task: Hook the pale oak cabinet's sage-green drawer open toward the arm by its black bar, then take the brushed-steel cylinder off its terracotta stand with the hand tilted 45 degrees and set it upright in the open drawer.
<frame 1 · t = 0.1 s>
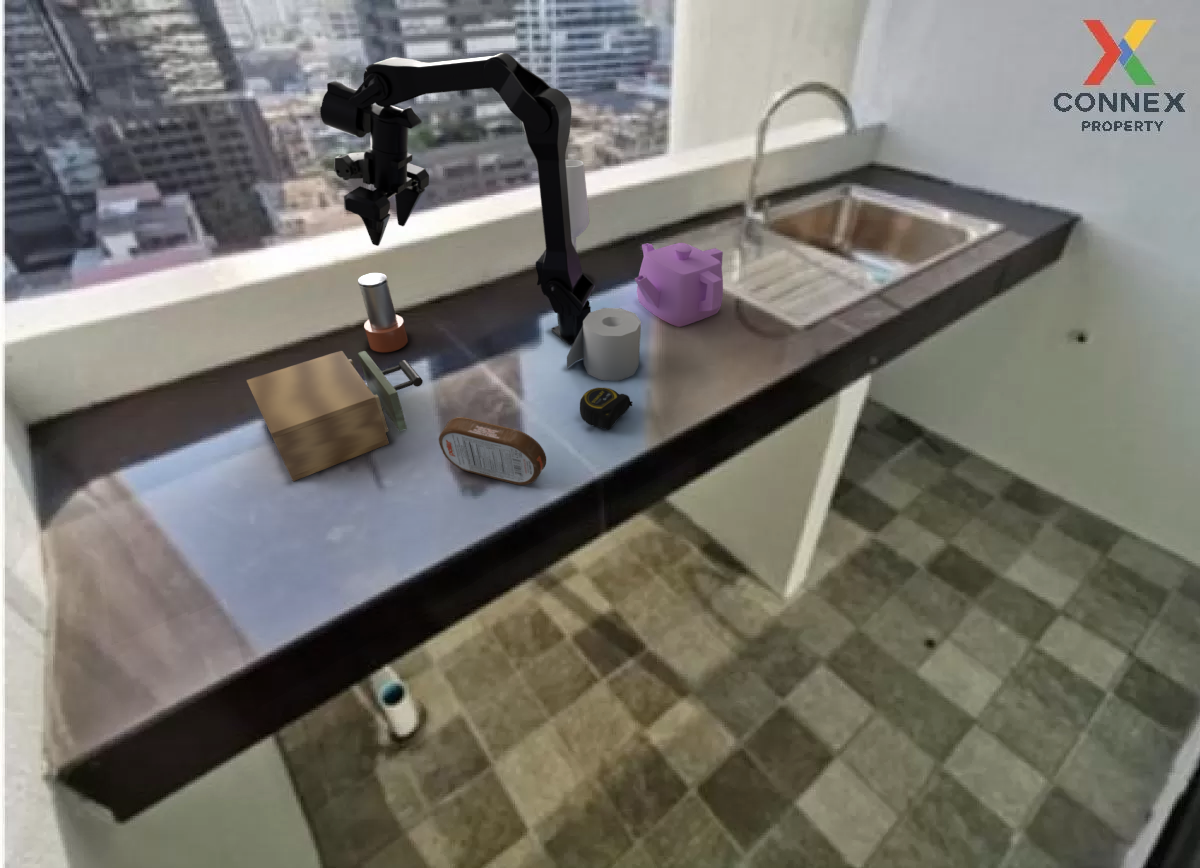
hand: (388, 234, 109), 15 cm above the worktop, tool pointing down, fingers open, 9 cm apart
cabinet: (327, 435, 90), on the worktop
tin: (494, 475, 84), on the worktop
cylinder: (383, 323, 108), point 4 cm above the worktop, touching stand
toilet tissue: (603, 367, 104), on the worktop
tape measure: (606, 419, 93), on the worktop
teakettle: (674, 307, 121), on the worktop
champagne flute: (574, 282, 129), on the worktop
stand: (388, 342, 110), on the worktop
drawer: (361, 397, 90), point 4 cm above the worktop, slide at 2.0 cm
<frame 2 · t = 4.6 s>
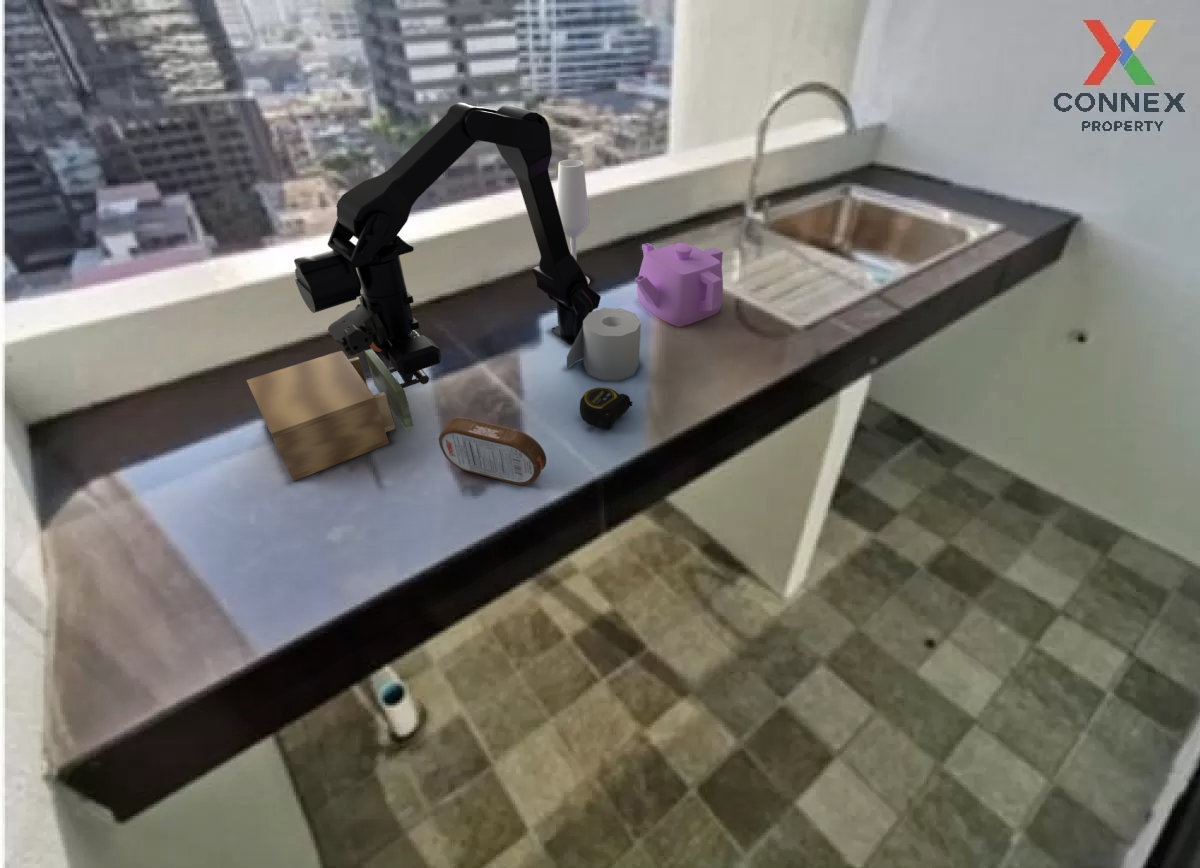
hand: (407, 380, 93), 4 cm above the worktop, tool pointing down, fingers closed, pressing on drawer
drawer: (368, 395, 91), point 4 cm above the worktop, slide at 3.0 cm, touching gripper
everything else where it was.
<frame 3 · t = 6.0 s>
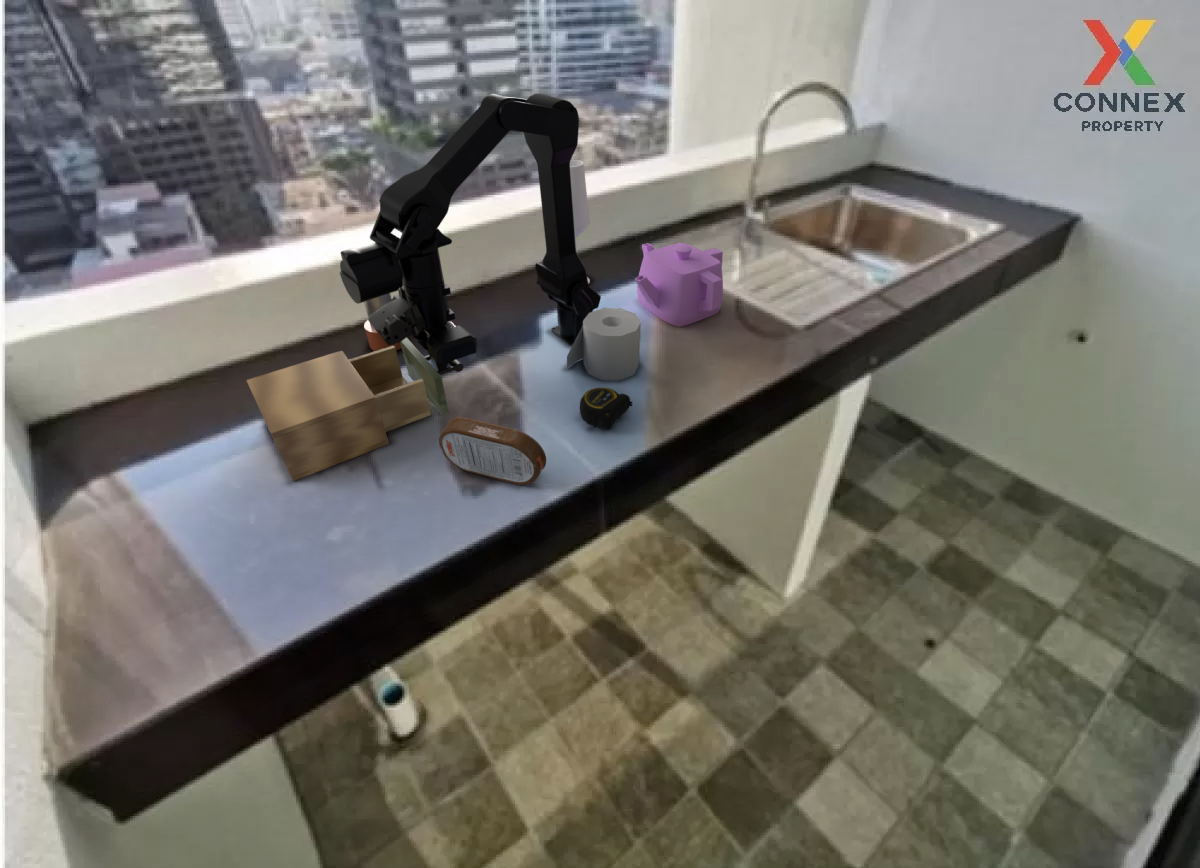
hand: (441, 370, 96), 4 cm above the worktop, tool pointing down, fingers closed
drawer: (404, 382, 93), point 4 cm above the worktop, slide at 8.7 cm
everything else where it was.
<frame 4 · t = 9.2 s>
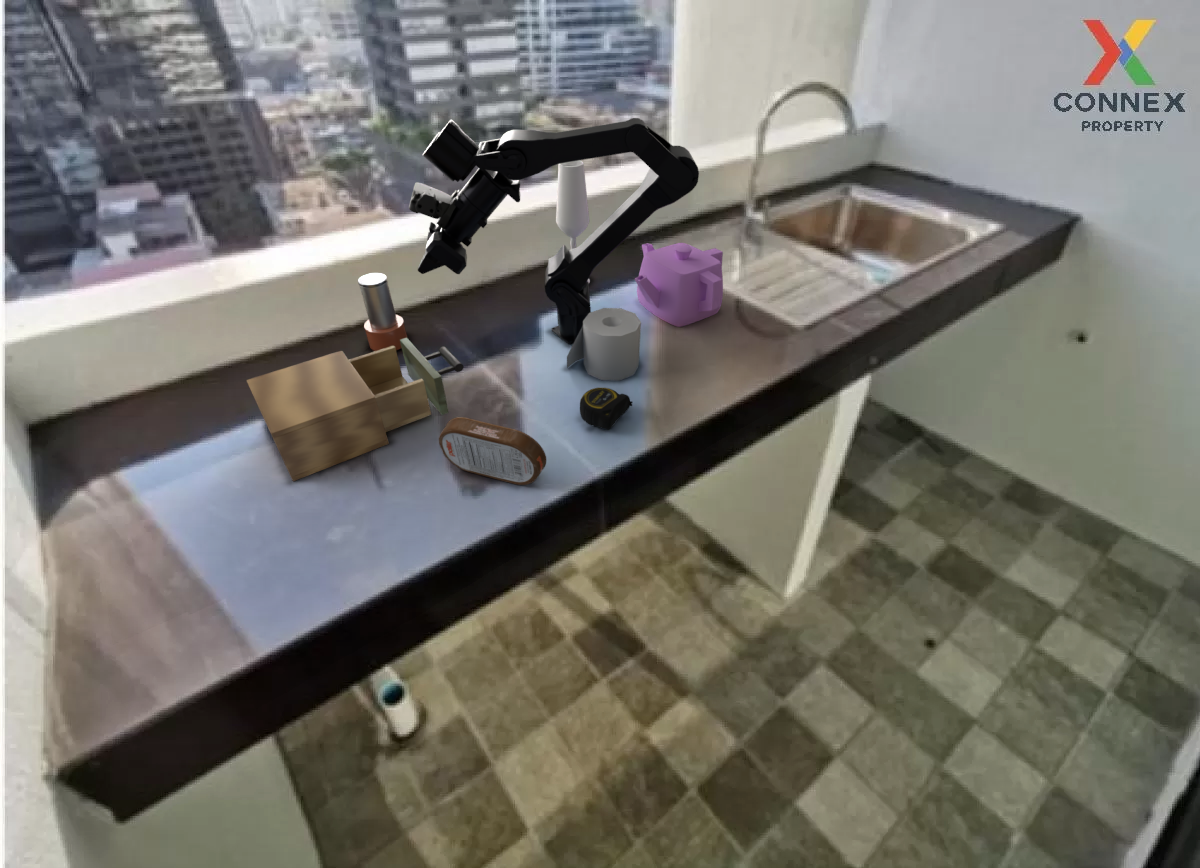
hand: (420, 271, 102), 13 cm above the worktop, tool tilted 45°, fingers closed
nothing on the worktop moved.
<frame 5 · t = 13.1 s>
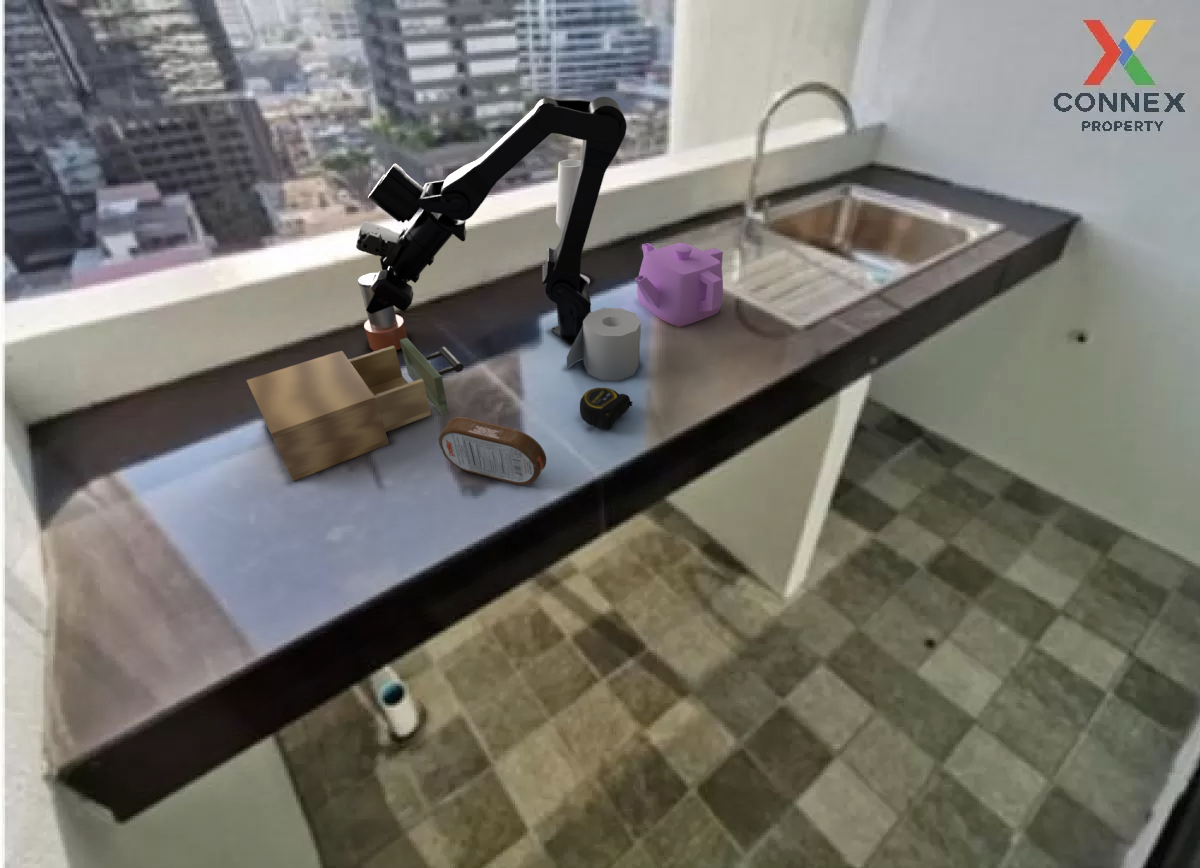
hand: (370, 305, 105), 8 cm above the worktop, tool tilted 45°, fingers closed on cylinder, 4 cm apart
cylinder: (383, 323, 108), point 4 cm above the worktop, touching gripper, stand
everything else where it was.
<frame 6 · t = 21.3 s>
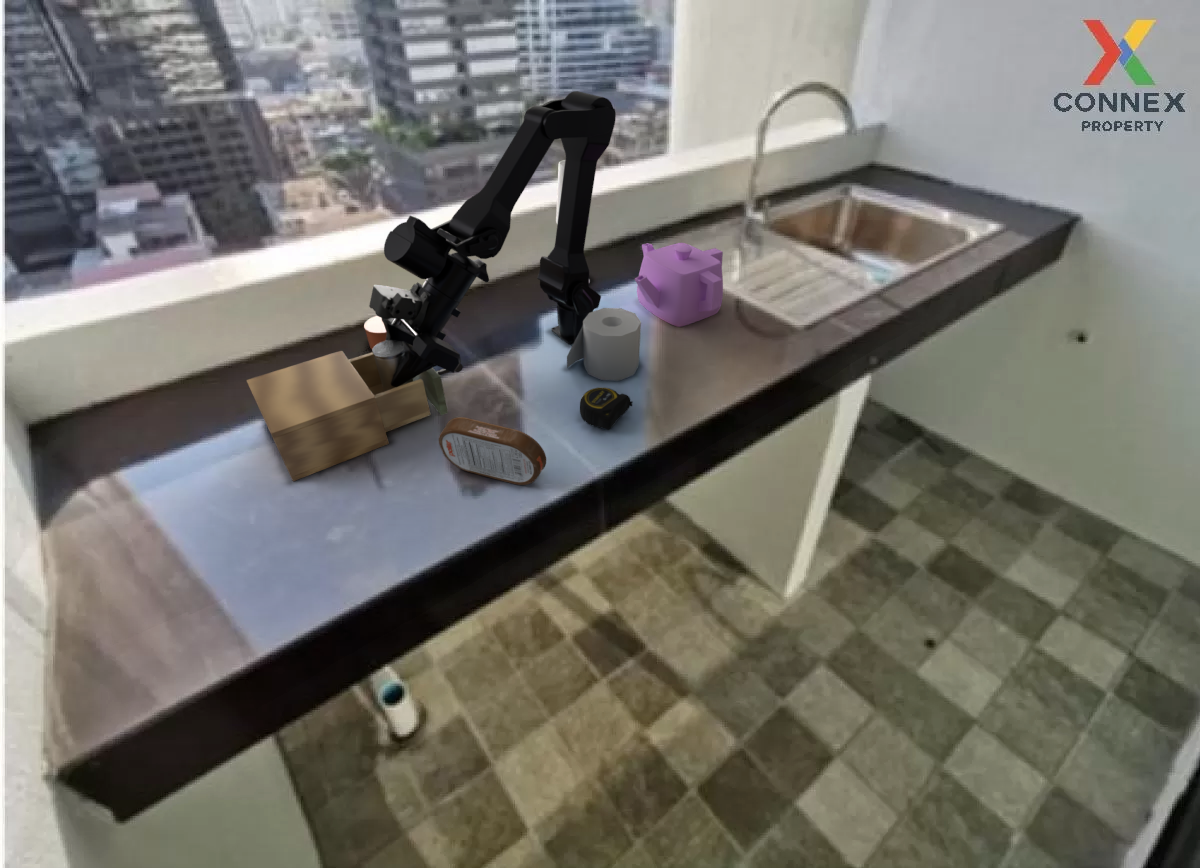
hand: (387, 378, 91), 6 cm above the worktop, tool tilted 45°, fingers closed on cylinder, 4 cm apart
cylinder: (401, 394, 94), point 2 cm above the worktop, touching gripper
drawer: (403, 382, 93), point 4 cm above the worktop, slide at 8.6 cm, touching gripper
everything else where it was.
when the fingers open (7 cm above the worktop, at t = 27.0 s): cylinder drops 1 cm, resting on drawer.
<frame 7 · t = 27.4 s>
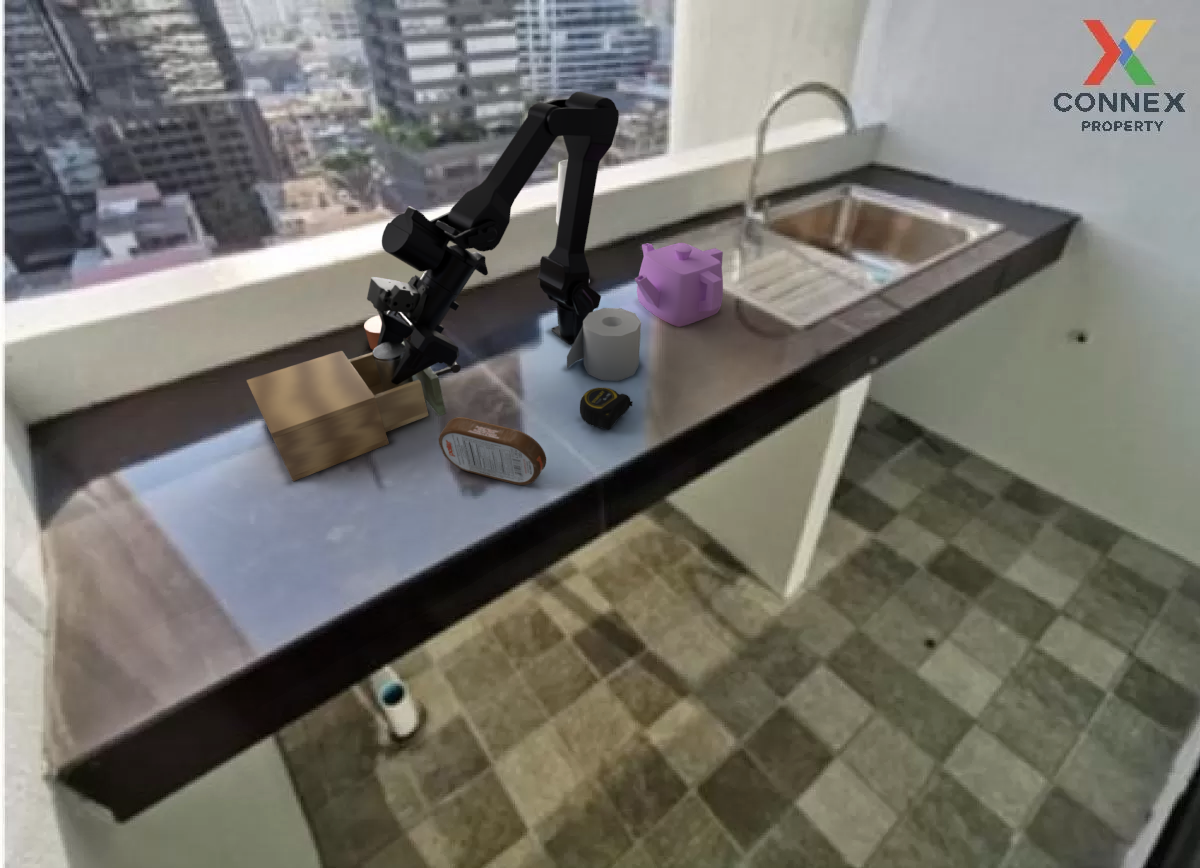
hand: (385, 371, 90), 7 cm above the worktop, tool tilted 45°, fingers open, 7 cm apart
cylinder: (401, 396, 94), point 2 cm above the worktop, touching drawer
drawer: (401, 383, 93), point 4 cm above the worktop, slide at 8.3 cm, touching cylinder
everything else where it was.
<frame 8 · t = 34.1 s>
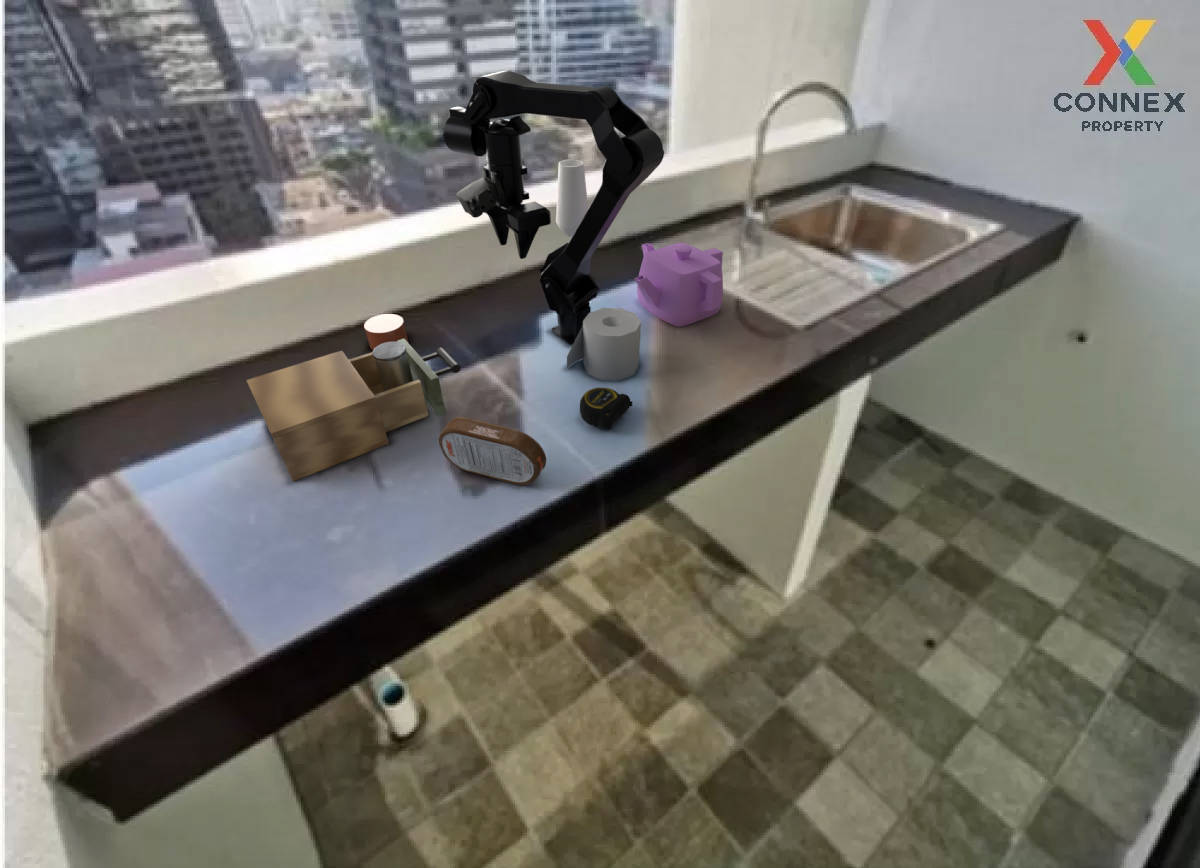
hand: (513, 251, 109), 13 cm above the worktop, tool pointing down, fingers open, 7 cm apart
nothing on the worktop moved.
at the end: drawer slide at 8.3 cm; cylinder inside the target area in the drawer (0.0 cm from its centre), point 2.0 cm above the cabinet's base; cylinder tilted 0° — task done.
